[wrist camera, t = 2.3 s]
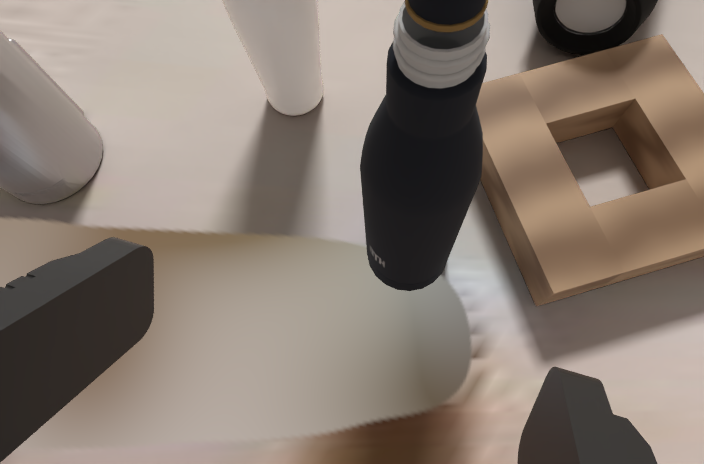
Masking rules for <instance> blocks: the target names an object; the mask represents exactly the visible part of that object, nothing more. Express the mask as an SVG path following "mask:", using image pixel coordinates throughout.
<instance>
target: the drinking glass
mask: <svg viewBox="0 0 704 464" xmlns="http://www.w3.org/2000/svg"><path fill="white" fill-rule="evenodd" d="M222 1H223V4H224V6H225V9H226V11H227V13H228V16H229V18H230V20H231V22H232V24H233V26H234V29H235V31H236V33H237V35H238V37H239V39H240V41H241V43H242V45H243V47H244V49H245V51H246V53H247V55H248V57H249V59H250V61H251V63H252V65H253V67H254V69H255V71H256V73H257V75H258V77H259V79H260V81H261V83H262V85H263V88H264V90H265V93H266V96H267V98H268V101H269V103H270V104H271V105H272V107H273V108H274V109H276V110H277V111H278V112H280V113H283V114H286V115H293V116H295V115H302V114H305V113H307V112H309V111H311V110H312V109H314V108H315V107H316V106H317V105H318V104H319V102H320V101H321V98H322V96H323V90H324V87H323V80H322V73H321V56H320V36H319V14H318V0H222Z"/></svg>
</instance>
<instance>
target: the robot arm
mask: <svg viewBox="0 0 704 464" xmlns="http://www.w3.org/2000/svg"><path fill="white" fill-rule="evenodd" d="M102 152H103V145H102V139H101V137H100V134H99V132H98V131H97V130H96V128H95V127H94V126H93V125H92V124H91V123H90V122H89V121H88V120H87V119H86V118H85V117H84V112H83V110H82V109H81V108H80V107H79V106H78V105H77V104H76V103H75V102H74V101H73V100H72V99H71V98H70V97H69V96H68V95H67V94H66V93H65V92H64V91H63V90H62V89H61V88H60V87H59V85H58V84H57V83H56V82H55V81H54V80H53V79H52V78H51V77H50V76H49V75H48V74H47V73H46V72H45V71H44V70H43V69H42V68H41V67H40V66H39V65H38V64H37V63H36V62H35V60H34V59H33V58H32V57H31V56H30V55H29V54H28V53H27V52H26V51H25V50H24V49H23V48H22V47H21V46H20V45H19V44H18V43H17V42H16V41H15V40H13V39H10V38H7V37H6V36H5V35H4V34H3V33H2V32H1V31H0V188H2V189H3V190H5V191H7V192H8V193H10V194H12V195H13V196H15V197H16V198H18V199H20V200H22V201H24V202H29V203H33V204H46V203H52V202H56V201H59V200H62V199H65V198H67V197H69V196H70V195H72V194H74V193H76V192H77V191H78V190H80V189H81V188H82V187H83V186H85V185H86V184H87V182H88V181H89V180H90V179H91V178H92V177H93V175H94V174H95V172H96V170H97V169H98V167H99V164H100V161H101V159H102ZM153 268H154V266H153V254H152V251H151V250H150V249H149V248H148V247H146V246H142V245H139V244H136V243H132V242H128V241H125V240H122V239H118V238H115V237H111V238H108V239H106V240H104V241H102V242H100V243H98V244H96V245H94V246H92V247H91V248H89V249H87V250H85V251H83V252H81V253H79V254H75V255H71V256H68V257H64V258H61V259H57V260H54V261H51V262H48V263H47V264H45V265H43V266H41V267H39V268H37V269H35V270H33V271H31V272H29V273H27V276H26V277H23V276H21V277H20V278H17V279H16V280H13V281H11V282H10V283H8V284H6V287H5V288H2V287H0V462H1V461H3V460H4V459H5V458H6V457H7V456H8V455H9V454H11V453H12V452H13V451H14V450H15V449H16V448H17V447H19V446H20V445H21V444H22V443H23V442H24V441H25V440H27V439H28V438H29V437H30V436H31V435H32V434H33V433H35V432H36V431H37V430H38V429H39V428H40V427H41V426H42V425H43V424H45V423H46V422H47V421H48V420H49V419H50V418H52V417H53V416H54V415H55V414H56V413H57V412H58V411H60V410H61V409H62V408H63V407H64V406H65V405H66V404H67V403H69V402H70V401H71V400H72V399H73V398H74V397H76V396H77V395H78V394H79V393H80V392H81V391H82V390H84V389H85V388H86V387H87V386H88V385H89V384H90V383H91V382H93V381H94V380H95V379H96V378H97V377H98V376H99V375H101V374H102V373H103V372H104V371H105V370H106V369H107V368H109V367H110V366H111V365H112V364H113V363H114V362H116V361H117V360H118V359H119V358H120V357H121V356H122V355H124V354H125V353H126V352H127V351H128V350H129V349H130V348H132V347H133V346H134V345H135V344H136V343H137V342H138V341H140V340H141V338H142V337H143V336H144V335H145V333H146V332H147V330H148V328H149V326H150V324H151V321H152V318H153V313H154V277H153V276H154V273H153V272H154V270H153ZM518 464H657V462H656V459H655V457H654V454H653V452H652V449H651V447H650V446H649V444H648V443H647V442H646V441H645V440H644V438H643V437H642V436H641V435H640V433H639V432H638V431H637V430H636V428H635V427H634V426H633V425H632V424H631V422H630V421H629V420H628V419H627V418H623V417H620V416H617V415H613V413H612V410H611V407H610V404H609V401H608V399H607V396H606V393H605V390H604V387H603V384H602V382H601V381H600V380H599V379H596V378H592V377H589V376H585V375H582V374H578V373H575V372H572V371H568V370H565V369H561V368H558V367H553V368H552V369H551V370H550V371H549V372H548V374H547V376H546V378H545V381H544V383H543V385H542V388H541V390H540V392H539V395H538V397H537V399H536V401H535V404H534V406H533V408H532V411H531V413H530V415H529V418H528V420H527V422H526V425H525V427H524V429H523V432H522V436H521V440H520V444H519V451H518Z"/></svg>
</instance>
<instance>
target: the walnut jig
mask: <svg viewBox="0 0 704 464" xmlns="http://www.w3.org/2000/svg"><path fill="white" fill-rule="evenodd" d="M476 107H477V111H478V115H479V119H480V123H481V127H482V132H483V161H482V176H481V179H480V180H481V183H482V185H483V187H484V189H485V192H486V194H487V196H488V199H489V201H490V203H491V205H492V208H493V210H494V212H495V214H496V217H497V219H498V221H499V224H500V226H501V228H502V230H503V233H504V235H505V237H506V239H507V242H508V244H509V246H510V249H511V251H512V253H513V255H514V258H515V260H516V262H517V264H518V267H519V269H520V271H521V274H522V276H523V278H524V280H525V283H526V285H527V287H528V289H529V292H530V294H531V296H532V299H533V301H534V303H535V305H536V306H540V305H543V304H546V303H550V302H553V301H556V300H560V299H563V298H567V297H570V296H573V295H577V294H580V293H583V292H587V291H590V290H593V289H597V288H600V287H603V286H607V285H610V284H613V283H617V282H620V281H623V280H627V279H630V278H633V277H637V276H640V275H643V274H647V273H650V272H653V271H657V270H660V269H663V268H667V267H670V266H673V265H677V264H680V263H683V262H687V261H690V260H694V259H697V258H700V257H704V93H703V92H702V90H701V89H700V87H699V86H698V84H697V83H696V82H695V80H694V79H693V77H692V76H691V75H690V73H689V72H688V70H687V69H686V67H685V66H684V65H683V63H682V62H681V60H680V59H679V57H678V56H677V55H676V53H675V52H674V50H673V49H672V47H671V46H670V45H669V43H668V42H667V40H666V39H665V37H664V36H663V35H662V34H661V35H658V36H654V37H650V38H647V39H643V40H639V41H636V42H632V43H628V44H625V45H621V46H617V47H614V48H610V49H606V50H603V51H599V52H595V53H592V54H588V55H584V56H581V57H577V58H573V59H570V60H566V61H562V62H559V63H555V64H551V65H548V66H544V67H540V68H537V69H533V70H529V71H526V72H522V73H518V74H515V75H511V76H507V77H504V78H500V79H496V80H493V81H489V82H485V83H482V86H481V89H480V93H479V96H478V99H477V103H476ZM612 127H613V129H614V130H615V132H616V134H617V135H618V137H619V139H620V141H621V142H622V144H623V146H624V147H625V149H626V151H627V152H628V154H629V156H630V157H631V159H632V161H633V163H634V164H635V166H636V168H637V169H638V171H639V173H640V174H641V176H642V178H643V179H644V181H645V183H646V185H647V186H648V188H649V190H647V191H643V192H640V193H637V194H633V195H630V196H626V197H623V198H619V199H616V200H612V201H609V202H606V203H602V204H599V205H595V206H592V207H590V206H589V204H588V202H587V200H586V199H585V197H584V195H583V193H582V191H581V189H580V187H579V185H578V183H577V181H576V180H575V178H574V176H573V174H572V172H571V170H570V168H569V166H568V164H567V163H566V161H565V159H564V157H563V155H562V153H561V151H560V149H559V147H558V145H557V144H556V143H559V142H562V141H566V140H569V139H573V138H576V137H580V136H584V135H587V134H591V133H594V132H598V131H601V130H605V129H608V128H612Z"/></svg>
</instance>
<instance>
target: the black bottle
mask: <svg viewBox="0 0 704 464" xmlns="http://www.w3.org/2000/svg"><path fill="white" fill-rule="evenodd" d="M487 4H488V0H405V1H404V3H403V5H402V7H401V8H400V12H399V14H398V16H397V17H396V19H395V22H394V31H393V34H394V41H393V43H392V45H391V47H390V48H389V51H388V58H387V82H386V96H385V97H384V99H383V101H382V103H381V104H380V106H379V108H378V110H377V112H376V113H375V115H374V117H373V119H372V121H371V123H370V125H369V128H368V131H367V134H366V137H365V141H364V145H363V150H362V157H361V164H360V171H361V183H362V195H363V208H364V220H365V232H366V244H367V255H368V260H369V264H370V267H371V268H372V270H373V272H374V273H375V275H376V276H377V277H378V278H379V279H380V280H381V281H382V282H383V283H385V284H386V285H388V286H390V287H393V288H395V289H397V290H407V291H411V290H417V289H422V288H424V287H426V286H428V285H429V284H431V283H433V282H434V281H435V280H436V279H437V278H438V277H439V276H440V274H441V273H442V271H443V269H444V267H445V264H446V262H447V259H448V257H449V254H450V252H451V250H452V247H453V245H454V242H455V240H456V237H457V235H458V233H459V230H460V228H461V225H462V223H463V220H464V218H465V216H466V213H467V211H468V208H469V206H470V203H471V201H472V198H473V196H474V194H475V191H476V189H477V186H478V184H479V181H480V179H481V176H482V161H483V132H482V127H481V123H480V119H479V115H478V111H477V107H476V103H477V99H478V96H479V93H480V89H481V86H482V83H483V79H484V76H485V73H486V66H487V55H486V52H485V47H486V44H487V42H488V40H489V37H490V24H489V22H488V12H487V10H486V8H487Z"/></svg>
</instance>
